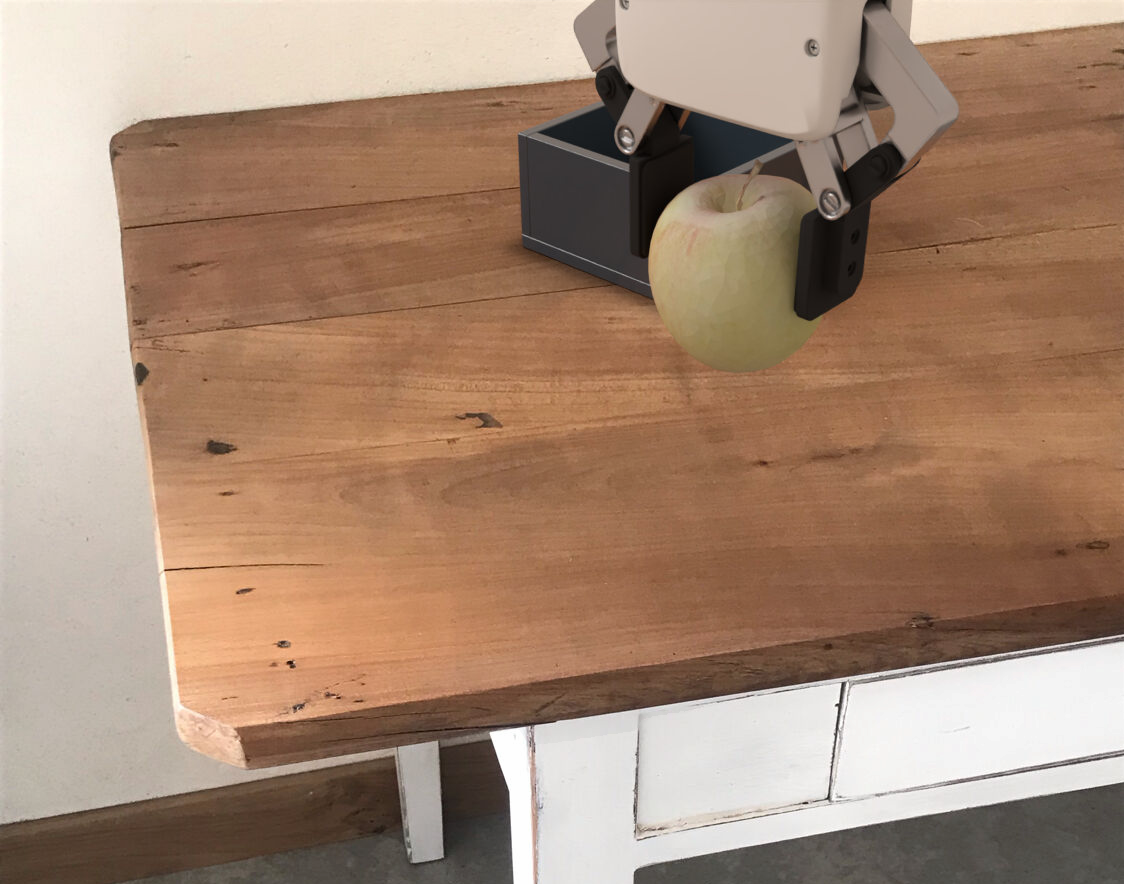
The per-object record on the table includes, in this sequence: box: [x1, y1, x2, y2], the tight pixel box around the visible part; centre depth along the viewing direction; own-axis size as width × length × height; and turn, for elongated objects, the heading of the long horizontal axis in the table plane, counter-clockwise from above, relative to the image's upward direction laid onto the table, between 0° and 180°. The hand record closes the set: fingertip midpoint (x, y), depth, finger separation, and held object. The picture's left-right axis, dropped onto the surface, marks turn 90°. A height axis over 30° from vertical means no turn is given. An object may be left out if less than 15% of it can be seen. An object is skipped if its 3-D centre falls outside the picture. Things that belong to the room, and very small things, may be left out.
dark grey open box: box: [517, 99, 845, 300], centre depth 82 cm, size 14×14×7 cm
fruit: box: [649, 159, 824, 374], centre depth 54 cm, size 8×7×8 cm
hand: (740, 272), depth 55 cm, fingers closed on fruit, 7 cm apart
